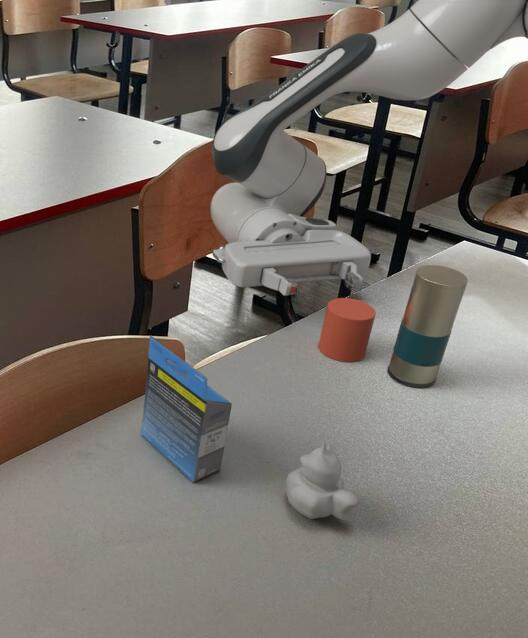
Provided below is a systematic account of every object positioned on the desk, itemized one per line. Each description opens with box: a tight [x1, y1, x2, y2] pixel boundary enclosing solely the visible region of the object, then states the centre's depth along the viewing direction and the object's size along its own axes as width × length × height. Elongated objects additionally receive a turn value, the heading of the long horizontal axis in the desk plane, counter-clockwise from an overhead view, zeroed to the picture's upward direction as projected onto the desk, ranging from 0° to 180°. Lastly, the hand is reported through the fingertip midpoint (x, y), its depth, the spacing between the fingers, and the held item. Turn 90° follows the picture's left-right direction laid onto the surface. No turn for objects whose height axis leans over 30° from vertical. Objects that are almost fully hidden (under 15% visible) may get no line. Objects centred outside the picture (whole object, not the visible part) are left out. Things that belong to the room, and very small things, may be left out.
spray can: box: [387, 264, 469, 389], centre depth 88 cm, size 5×5×14 cm
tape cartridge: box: [140, 335, 233, 483], centre depth 75 cm, size 9×4×12 cm, turn 31°
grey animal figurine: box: [285, 440, 359, 521], centre depth 69 cm, size 5×7×8 cm
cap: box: [317, 297, 377, 363], centre depth 94 cm, size 6×6×6 cm
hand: (324, 287), depth 98 cm, fingers open, 8 cm apart
